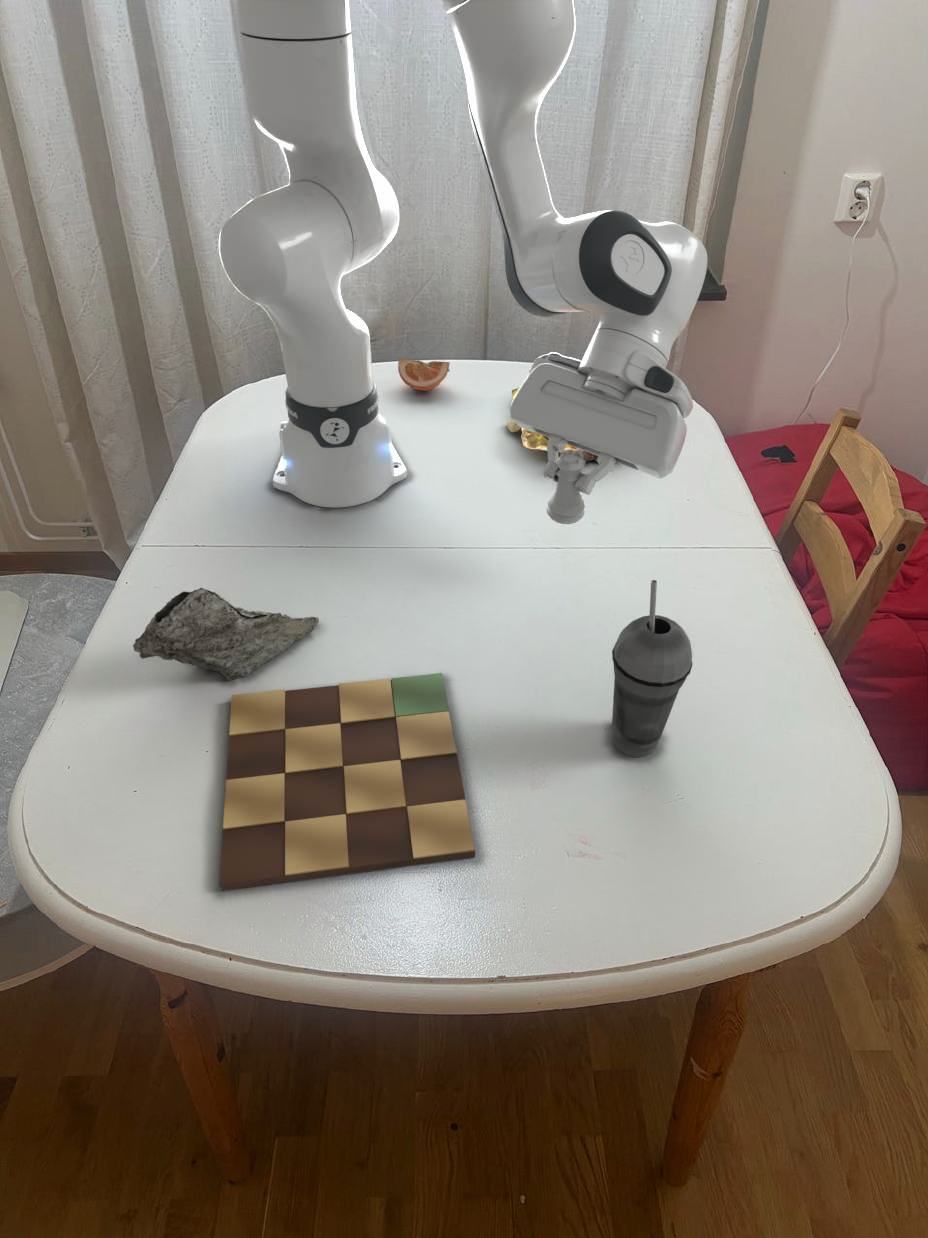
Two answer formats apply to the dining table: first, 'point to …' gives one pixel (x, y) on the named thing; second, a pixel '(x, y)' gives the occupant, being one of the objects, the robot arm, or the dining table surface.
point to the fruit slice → (422, 373)
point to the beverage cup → (647, 679)
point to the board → (341, 782)
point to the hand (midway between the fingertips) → (565, 485)
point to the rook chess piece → (567, 490)
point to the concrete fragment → (219, 634)
